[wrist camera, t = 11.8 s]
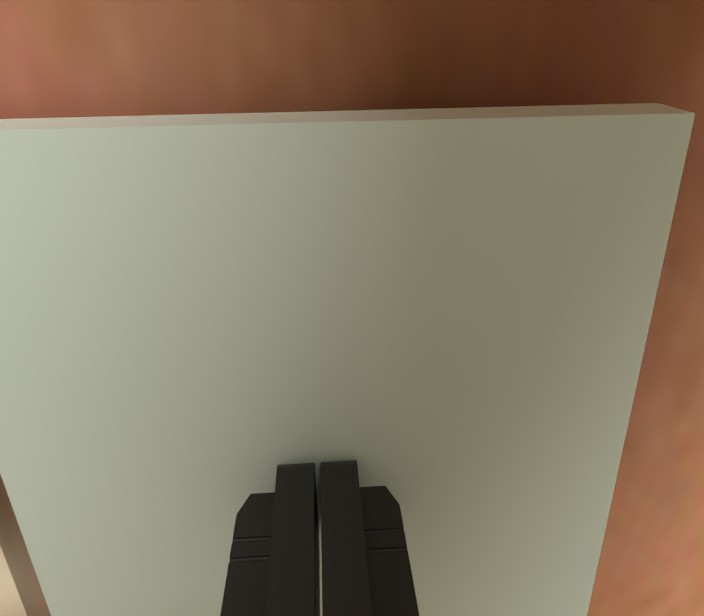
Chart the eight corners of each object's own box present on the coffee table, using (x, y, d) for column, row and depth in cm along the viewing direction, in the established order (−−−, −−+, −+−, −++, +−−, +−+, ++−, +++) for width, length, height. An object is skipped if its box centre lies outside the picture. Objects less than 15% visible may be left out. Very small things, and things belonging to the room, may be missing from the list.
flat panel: (-123, 133, 9) (695, 113, 9) (-71, 120, 10) (657, 103, 10) (84, 708, 15) (567, 705, 15) (102, 662, 16) (553, 658, 16)
